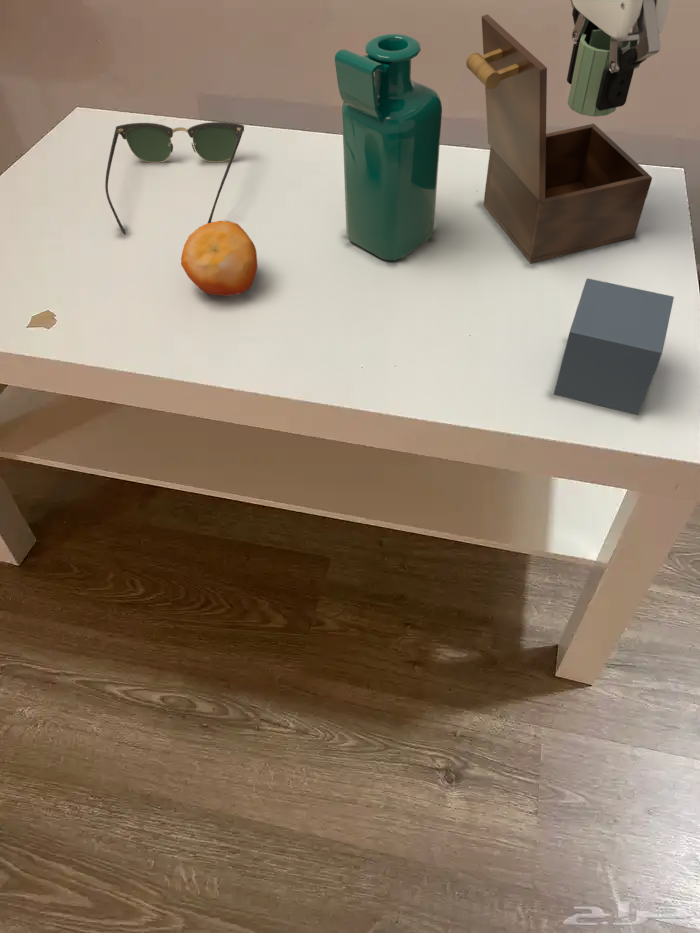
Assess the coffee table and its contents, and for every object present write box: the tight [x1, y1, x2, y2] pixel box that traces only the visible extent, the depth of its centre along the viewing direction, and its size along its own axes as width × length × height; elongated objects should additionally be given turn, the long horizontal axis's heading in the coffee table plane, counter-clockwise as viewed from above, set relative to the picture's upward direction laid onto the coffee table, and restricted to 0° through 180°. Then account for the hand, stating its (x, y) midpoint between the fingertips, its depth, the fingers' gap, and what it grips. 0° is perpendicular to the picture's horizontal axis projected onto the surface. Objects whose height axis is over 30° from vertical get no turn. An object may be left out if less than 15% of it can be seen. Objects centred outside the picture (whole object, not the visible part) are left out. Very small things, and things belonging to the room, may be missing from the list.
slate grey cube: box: [553, 278, 675, 416], centre depth 74 cm, size 8×8×8 cm
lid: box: [465, 13, 548, 201], centre depth 80 cm, size 14×12×4 cm
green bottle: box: [334, 33, 443, 261], centre depth 83 cm, size 10×8×22 cm
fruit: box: [180, 220, 258, 297], centre depth 85 cm, size 8×8×8 cm
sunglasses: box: [104, 121, 245, 234], centre depth 97 cm, size 16×17×5 cm
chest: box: [483, 123, 653, 264], centre depth 90 cm, size 13×12×8 cm
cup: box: [567, 29, 630, 117], centre depth 80 cm, size 5×5×6 cm
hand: (595, 92), depth 82 cm, fingers closed on cup, 5 cm apart
